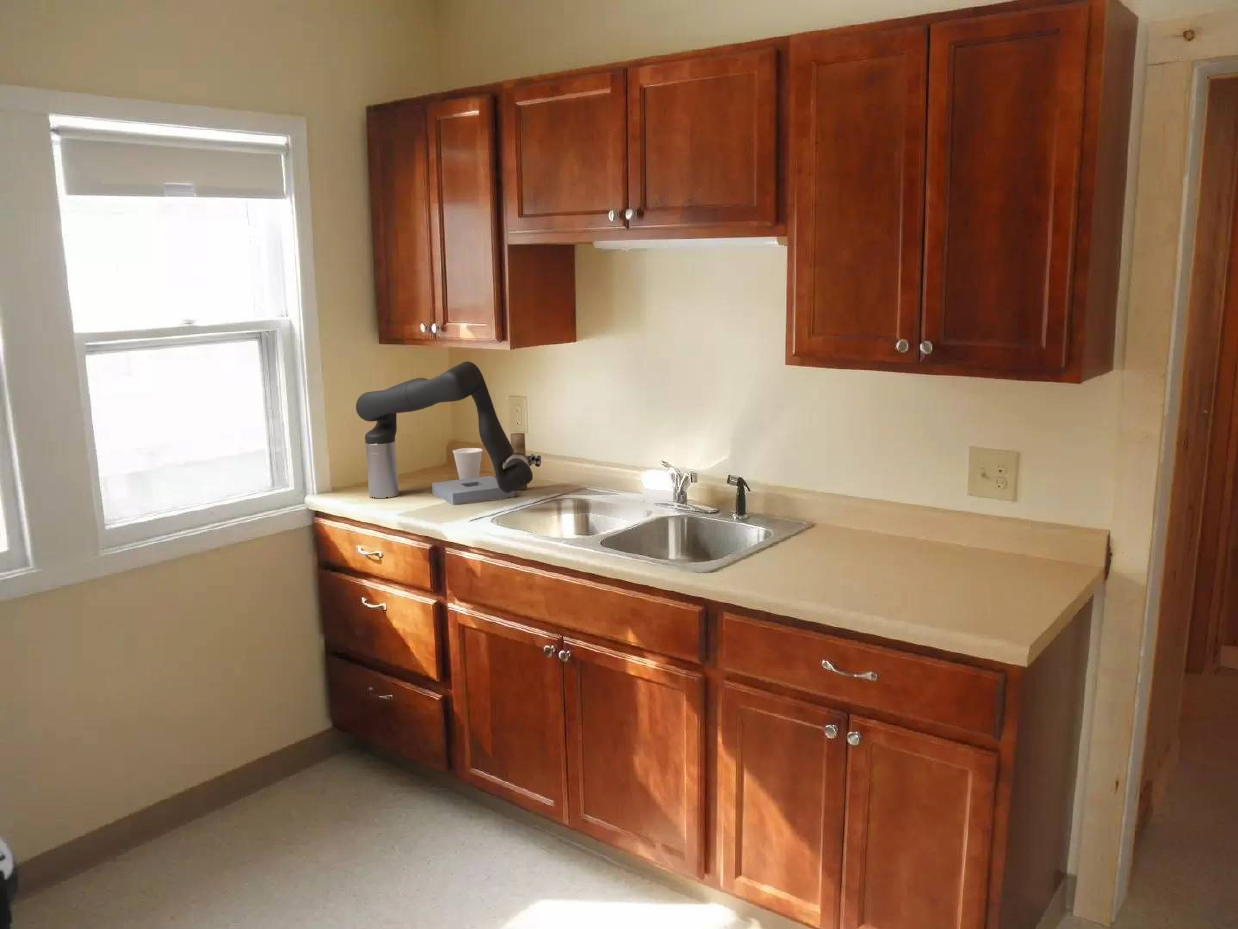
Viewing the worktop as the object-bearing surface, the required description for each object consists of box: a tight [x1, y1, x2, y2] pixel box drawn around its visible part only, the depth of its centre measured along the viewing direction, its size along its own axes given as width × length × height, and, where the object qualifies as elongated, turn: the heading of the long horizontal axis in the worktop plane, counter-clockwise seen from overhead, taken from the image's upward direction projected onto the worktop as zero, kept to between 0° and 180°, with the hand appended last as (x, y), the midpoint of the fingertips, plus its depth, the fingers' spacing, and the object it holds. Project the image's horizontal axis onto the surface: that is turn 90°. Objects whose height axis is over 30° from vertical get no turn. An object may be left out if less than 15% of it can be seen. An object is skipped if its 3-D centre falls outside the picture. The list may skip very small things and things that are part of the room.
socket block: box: [431, 475, 516, 506], centre depth 323 cm, size 20×20×4 cm
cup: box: [452, 447, 484, 480], centre depth 342 cm, size 10×10×11 cm
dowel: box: [510, 432, 528, 492], centre depth 329 cm, size 4×4×18 cm
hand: (519, 457), depth 331 cm, fingers open, 8 cm apart
